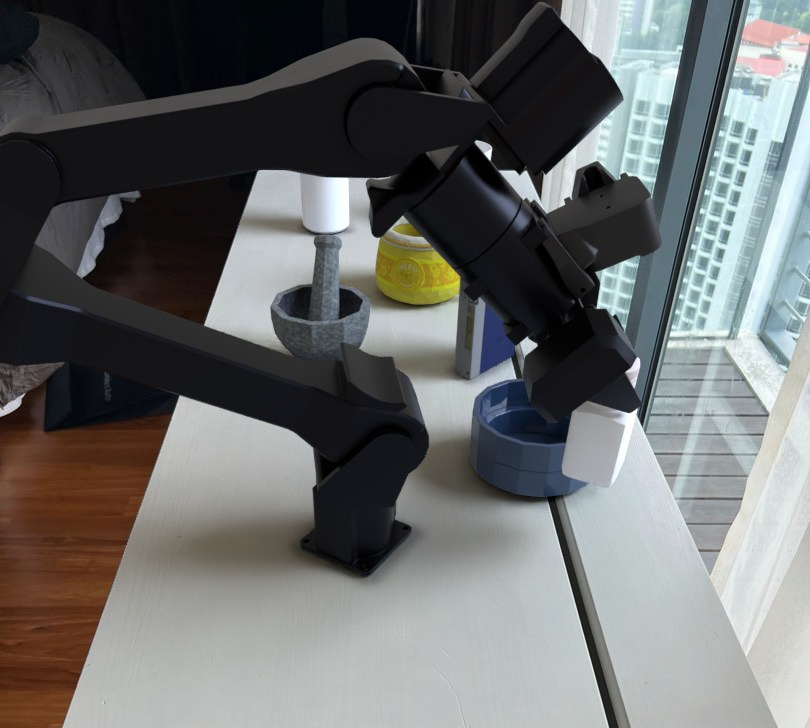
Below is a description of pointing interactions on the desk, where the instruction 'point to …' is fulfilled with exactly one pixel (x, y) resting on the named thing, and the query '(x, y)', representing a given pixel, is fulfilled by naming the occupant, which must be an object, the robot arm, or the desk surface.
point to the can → (324, 203)
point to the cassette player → (479, 338)
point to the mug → (413, 268)
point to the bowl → (518, 443)
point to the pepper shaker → (598, 440)
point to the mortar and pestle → (321, 309)
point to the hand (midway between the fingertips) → (629, 393)
